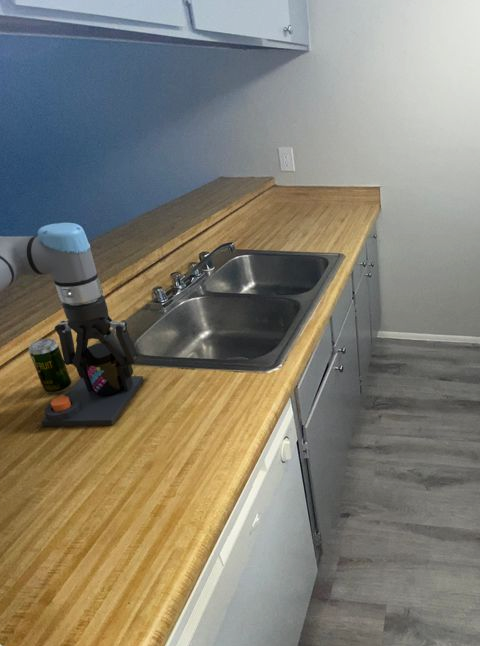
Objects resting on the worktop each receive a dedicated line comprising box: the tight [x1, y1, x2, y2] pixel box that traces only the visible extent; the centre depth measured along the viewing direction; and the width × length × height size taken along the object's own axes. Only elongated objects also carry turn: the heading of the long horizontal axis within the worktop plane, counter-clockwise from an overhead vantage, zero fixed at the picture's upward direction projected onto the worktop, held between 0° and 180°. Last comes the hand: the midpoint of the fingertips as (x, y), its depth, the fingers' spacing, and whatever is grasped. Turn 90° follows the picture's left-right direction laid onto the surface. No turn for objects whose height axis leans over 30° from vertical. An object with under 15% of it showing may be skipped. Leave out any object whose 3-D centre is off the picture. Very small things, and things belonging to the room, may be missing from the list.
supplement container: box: [81, 342, 124, 396], centre depth 106 cm, size 7×7×10 cm
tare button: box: [50, 395, 71, 412], centre depth 100 cm, size 3×3×2 cm
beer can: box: [28, 338, 72, 395], centre depth 108 cm, size 5×5×12 cm
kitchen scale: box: [40, 375, 144, 427], centre depth 106 cm, size 14×16×3 cm
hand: (110, 387), depth 109 cm, fingers open, 7 cm apart
